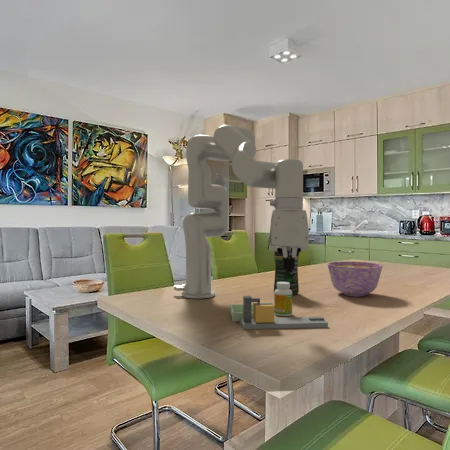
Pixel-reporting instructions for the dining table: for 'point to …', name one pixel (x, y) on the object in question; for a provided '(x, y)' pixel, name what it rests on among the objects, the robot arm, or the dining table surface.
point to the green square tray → (237, 312)
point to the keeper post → (248, 308)
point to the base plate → (287, 323)
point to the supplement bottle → (283, 299)
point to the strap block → (263, 312)
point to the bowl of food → (354, 277)
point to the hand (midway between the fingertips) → (288, 271)
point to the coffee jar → (284, 276)
